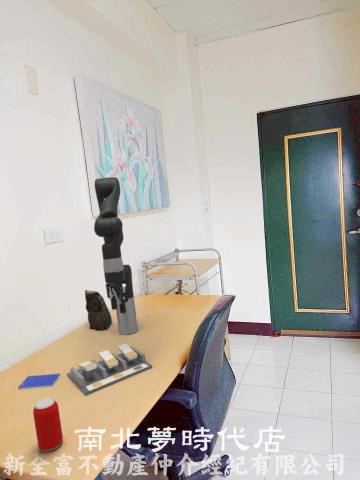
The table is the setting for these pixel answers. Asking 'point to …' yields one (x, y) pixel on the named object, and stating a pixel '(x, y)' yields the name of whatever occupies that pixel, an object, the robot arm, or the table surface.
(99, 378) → the switch unit
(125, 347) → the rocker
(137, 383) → the table surface
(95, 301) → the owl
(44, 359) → the table surface
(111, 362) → the rocker middle
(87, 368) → the rocker
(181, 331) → the table surface
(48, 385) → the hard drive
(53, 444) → the beverage can
